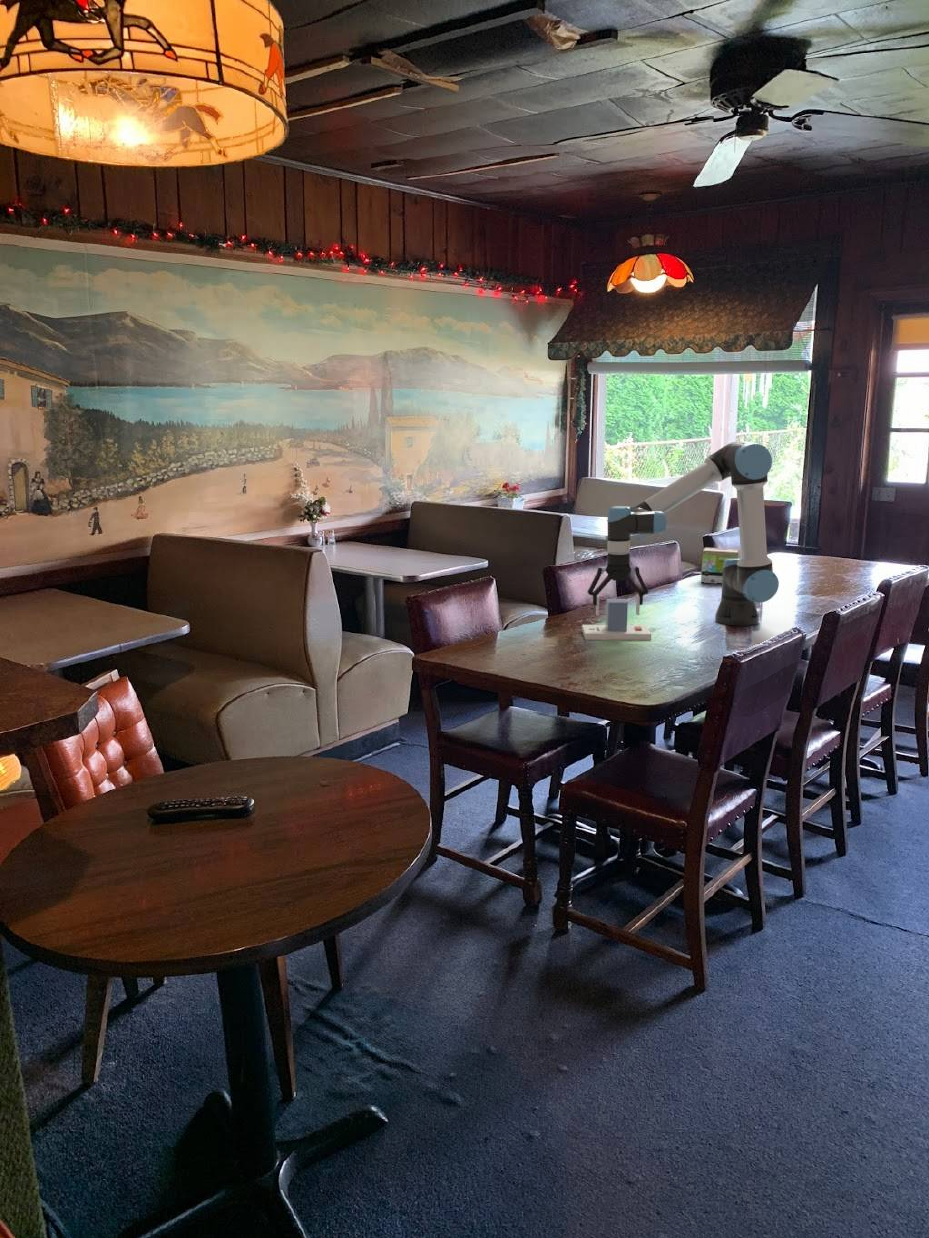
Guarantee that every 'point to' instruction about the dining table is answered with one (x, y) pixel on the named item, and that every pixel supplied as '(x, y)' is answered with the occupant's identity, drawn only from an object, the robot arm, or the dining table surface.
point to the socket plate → (616, 633)
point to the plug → (616, 615)
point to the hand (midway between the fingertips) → (617, 614)
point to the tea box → (715, 563)
